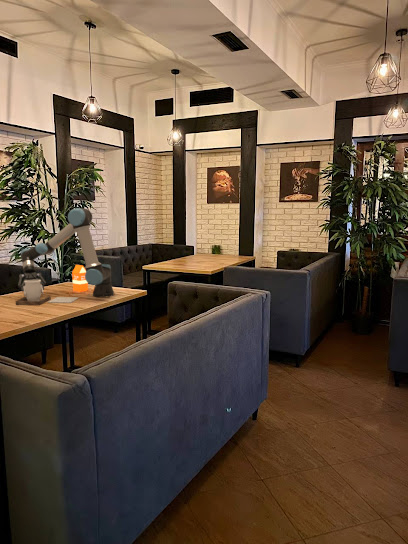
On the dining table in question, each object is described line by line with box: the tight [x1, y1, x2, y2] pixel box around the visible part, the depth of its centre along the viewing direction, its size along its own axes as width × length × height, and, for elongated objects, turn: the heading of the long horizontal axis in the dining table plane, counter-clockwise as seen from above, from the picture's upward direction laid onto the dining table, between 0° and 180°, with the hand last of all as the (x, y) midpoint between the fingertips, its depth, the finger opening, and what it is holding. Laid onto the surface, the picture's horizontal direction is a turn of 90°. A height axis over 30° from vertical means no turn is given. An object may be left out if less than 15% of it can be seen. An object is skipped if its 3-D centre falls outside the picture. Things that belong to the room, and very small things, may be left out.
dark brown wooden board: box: [15, 295, 52, 306], centre depth 272 cm, size 16×17×2 cm
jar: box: [23, 278, 42, 301], centre depth 271 cm, size 11×10×15 cm
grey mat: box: [47, 296, 80, 304], centre depth 279 cm, size 16×16×1 cm
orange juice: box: [71, 264, 89, 293], centre depth 313 cm, size 8×9×20 cm
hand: (34, 294), depth 269 cm, fingers closed on jar, 10 cm apart
